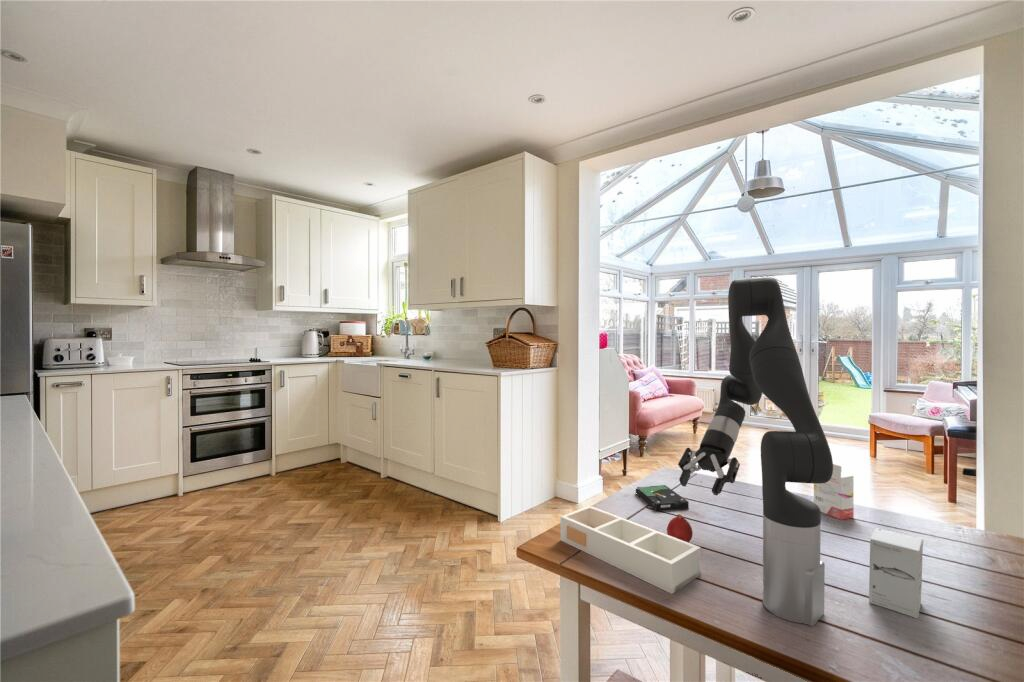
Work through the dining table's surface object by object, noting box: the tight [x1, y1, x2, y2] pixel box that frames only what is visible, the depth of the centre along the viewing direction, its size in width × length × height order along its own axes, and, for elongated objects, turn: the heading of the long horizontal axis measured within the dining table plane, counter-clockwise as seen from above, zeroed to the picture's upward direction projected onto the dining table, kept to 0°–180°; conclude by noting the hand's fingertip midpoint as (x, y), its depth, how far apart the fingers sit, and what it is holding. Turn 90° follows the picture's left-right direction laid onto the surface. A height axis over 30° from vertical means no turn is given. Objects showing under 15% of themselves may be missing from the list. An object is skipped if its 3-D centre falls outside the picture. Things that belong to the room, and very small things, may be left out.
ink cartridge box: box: [813, 463, 855, 520], centre depth 131 cm, size 9×5×15 cm, turn 17°
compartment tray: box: [559, 505, 702, 595], centre depth 108 cm, size 31×11×6 cm, turn 39°
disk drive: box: [635, 484, 690, 512], centre depth 142 cm, size 10×3×15 cm
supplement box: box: [868, 527, 924, 619], centre depth 88 cm, size 7×7×13 cm
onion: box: [666, 513, 693, 543], centre depth 112 cm, size 6×6×8 cm
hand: (697, 489), depth 117 cm, fingers open, 8 cm apart
